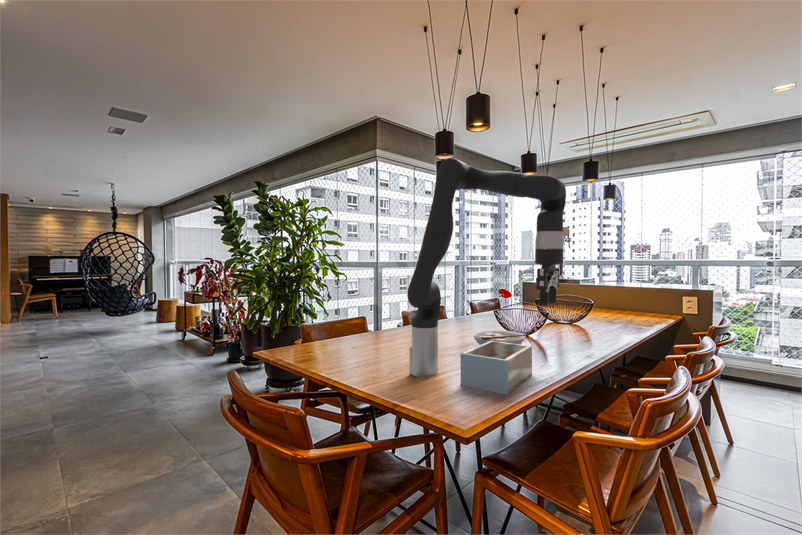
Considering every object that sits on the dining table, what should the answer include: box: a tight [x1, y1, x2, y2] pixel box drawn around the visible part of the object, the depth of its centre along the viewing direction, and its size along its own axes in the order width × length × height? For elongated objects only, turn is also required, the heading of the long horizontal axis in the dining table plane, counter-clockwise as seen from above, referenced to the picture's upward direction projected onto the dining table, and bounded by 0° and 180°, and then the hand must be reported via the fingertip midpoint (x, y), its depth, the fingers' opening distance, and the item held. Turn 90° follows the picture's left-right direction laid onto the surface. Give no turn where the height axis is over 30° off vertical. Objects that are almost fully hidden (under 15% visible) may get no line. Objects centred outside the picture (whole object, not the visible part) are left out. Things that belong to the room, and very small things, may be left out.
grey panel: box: [460, 352, 509, 396], centre depth 115 cm, size 15×1×11 cm, turn 54°
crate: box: [462, 341, 533, 395], centre depth 124 cm, size 15×22×11 cm
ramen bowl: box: [472, 329, 532, 346], centre depth 167 cm, size 25×23×8 cm
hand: (547, 304), depth 108 cm, fingers open, 8 cm apart
